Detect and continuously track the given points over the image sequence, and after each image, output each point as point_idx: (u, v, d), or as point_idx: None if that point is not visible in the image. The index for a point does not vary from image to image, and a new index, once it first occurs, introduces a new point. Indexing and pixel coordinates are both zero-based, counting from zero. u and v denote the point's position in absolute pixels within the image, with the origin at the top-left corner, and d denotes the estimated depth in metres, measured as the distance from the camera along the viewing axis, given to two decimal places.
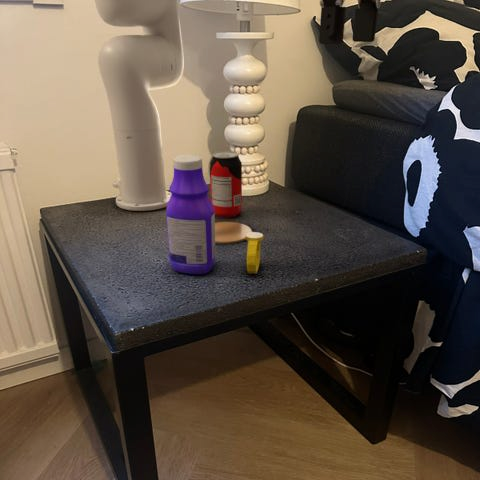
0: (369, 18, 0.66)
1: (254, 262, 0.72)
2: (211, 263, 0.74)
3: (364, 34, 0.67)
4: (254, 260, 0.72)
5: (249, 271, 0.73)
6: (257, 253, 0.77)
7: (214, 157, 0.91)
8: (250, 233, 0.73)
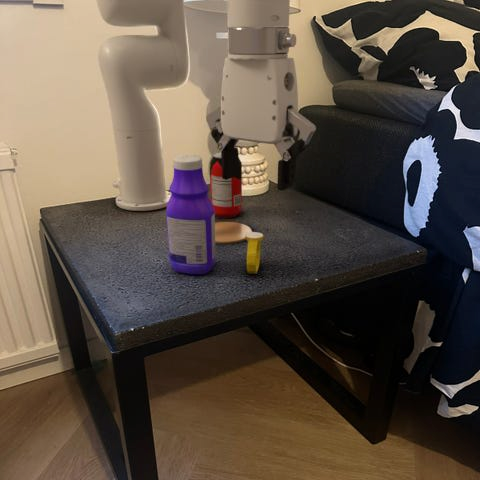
0: None
1: (254, 262, 0.72)
2: (211, 263, 0.74)
3: None
4: (254, 260, 0.72)
5: (249, 271, 0.73)
6: (257, 253, 0.77)
7: (214, 157, 0.91)
8: (250, 233, 0.73)
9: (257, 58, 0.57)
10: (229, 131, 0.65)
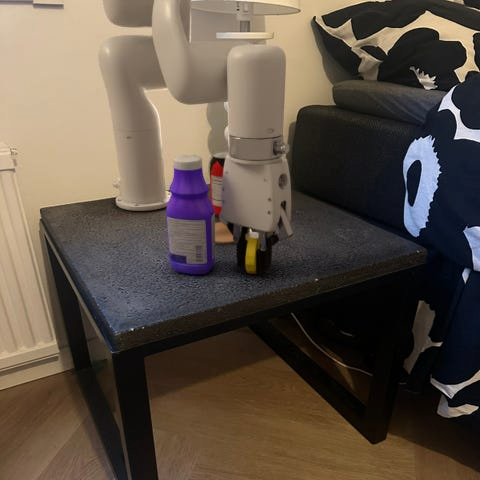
0: None
1: (253, 262, 0.72)
2: (211, 263, 0.74)
3: None
4: (253, 260, 0.72)
5: (248, 271, 0.73)
6: None
7: (214, 157, 0.91)
8: (250, 233, 0.73)
9: (254, 163, 0.63)
10: (229, 217, 0.71)
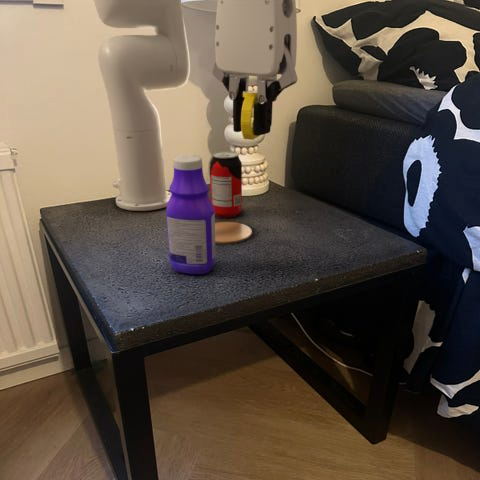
0: None
1: (249, 121, 0.62)
2: (211, 263, 0.74)
3: None
4: (249, 118, 0.62)
5: (244, 135, 0.64)
6: None
7: (214, 157, 0.91)
8: (249, 91, 0.63)
9: None
10: (223, 64, 0.61)
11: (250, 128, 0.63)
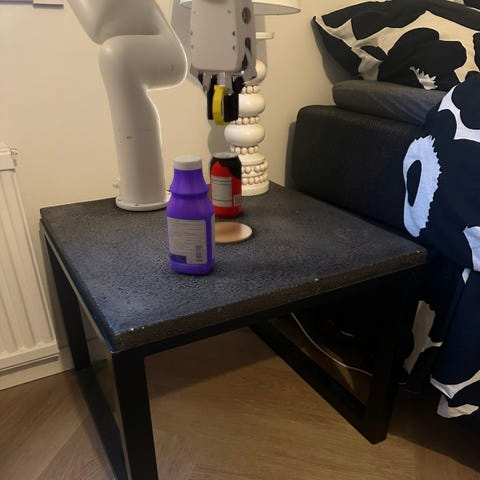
0: None
1: (219, 109, 0.75)
2: (211, 263, 0.74)
3: None
4: (219, 107, 0.74)
5: (216, 121, 0.76)
6: None
7: (214, 157, 0.91)
8: (220, 85, 0.76)
9: None
10: (197, 63, 0.74)
11: (220, 115, 0.75)
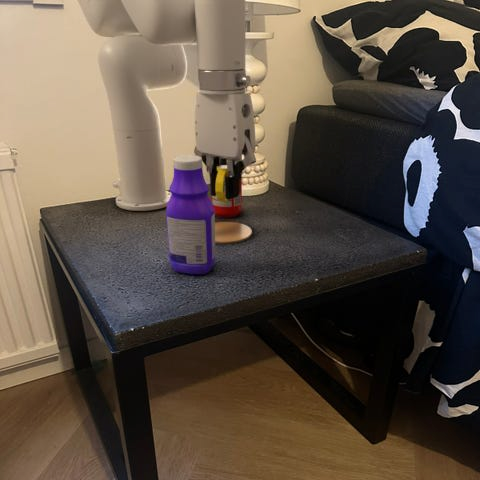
0: None
1: (221, 189, 0.81)
2: (211, 263, 0.74)
3: None
4: (221, 188, 0.81)
5: (219, 199, 0.83)
6: None
7: None
8: (222, 165, 0.83)
9: (220, 93, 0.73)
10: (201, 148, 0.81)
11: (222, 194, 0.82)
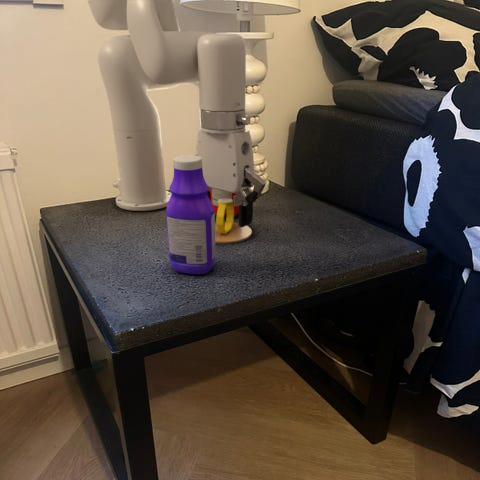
0: None
1: (222, 223, 0.85)
2: (211, 263, 0.74)
3: None
4: (222, 221, 0.85)
5: (219, 231, 0.87)
6: (231, 218, 0.90)
7: None
8: (222, 199, 0.86)
9: (221, 133, 0.76)
10: None
11: (223, 227, 0.85)
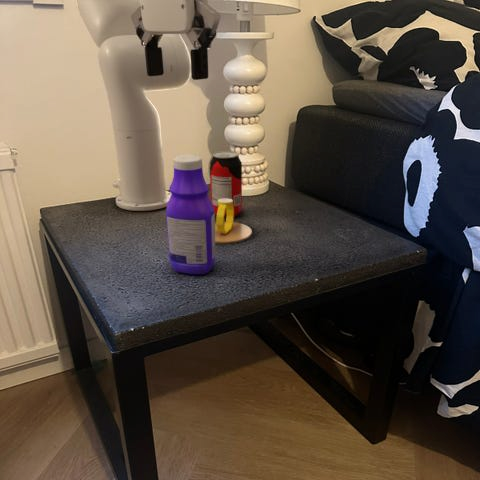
0: None
1: (222, 223, 0.85)
2: (211, 263, 0.74)
3: None
4: (222, 221, 0.85)
5: (219, 231, 0.87)
6: (231, 218, 0.90)
7: (214, 157, 0.91)
8: (222, 199, 0.86)
9: None
10: (148, 25, 0.71)
11: (223, 227, 0.85)
